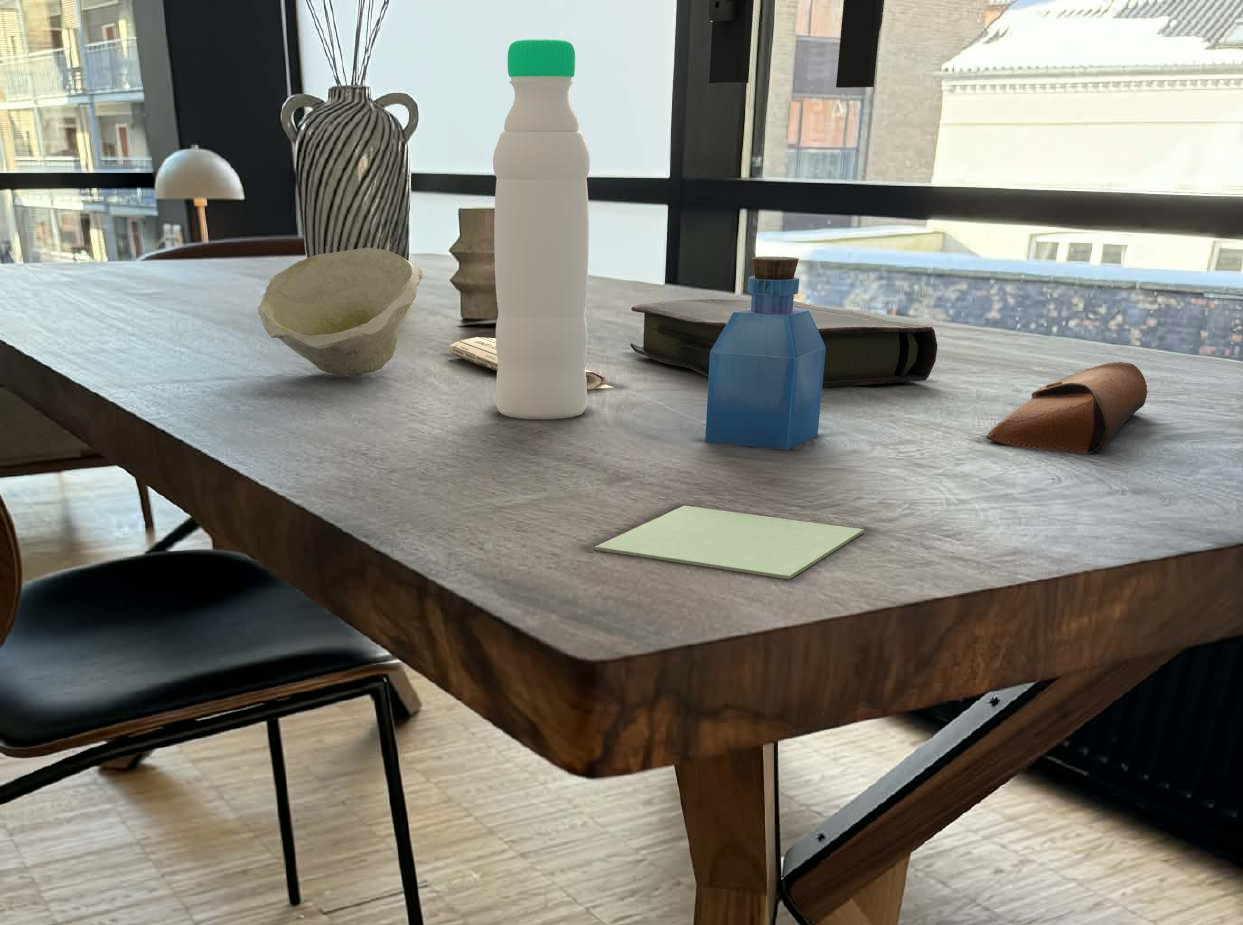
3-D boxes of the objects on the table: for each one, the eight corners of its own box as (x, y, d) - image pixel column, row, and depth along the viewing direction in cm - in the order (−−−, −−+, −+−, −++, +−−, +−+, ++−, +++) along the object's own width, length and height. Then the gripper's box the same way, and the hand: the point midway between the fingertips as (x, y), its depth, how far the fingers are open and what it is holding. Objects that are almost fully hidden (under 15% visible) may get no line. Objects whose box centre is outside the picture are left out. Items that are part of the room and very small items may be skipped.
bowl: (232, 379, 127) (219, 255, 122) (314, 359, 138) (305, 244, 134) (380, 390, 122) (374, 261, 117) (453, 368, 133) (449, 250, 128)
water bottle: (515, 425, 108) (512, 36, 96) (483, 410, 114) (477, 41, 102) (600, 419, 110) (608, 39, 98) (565, 405, 116) (568, 43, 104)
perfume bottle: (787, 453, 99) (802, 263, 93) (704, 444, 102) (715, 259, 96) (817, 438, 104) (834, 257, 98) (738, 430, 107) (750, 253, 101)
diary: (786, 348, 147) (790, 294, 144) (933, 383, 127) (941, 322, 124) (622, 356, 140) (623, 301, 138) (750, 396, 120) (755, 332, 118)
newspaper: (449, 358, 139) (448, 338, 138) (516, 354, 142) (516, 335, 141) (541, 395, 120) (540, 372, 119) (617, 390, 123) (617, 368, 122)
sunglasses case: (1032, 401, 115) (1090, 327, 111) (1102, 455, 115) (1162, 383, 110) (981, 440, 101) (1044, 357, 97) (1059, 501, 101) (1127, 420, 96)
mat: (863, 536, 79) (864, 529, 79) (789, 584, 71) (789, 576, 71) (683, 512, 84) (684, 505, 84) (594, 554, 76) (594, 546, 76)
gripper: (893, -275, 96) (859, 89, 107) (637, -351, 81) (626, 82, 92) (991, -296, 92) (945, 88, 102) (738, -380, 77) (714, 80, 87)
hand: (794, 86), depth 97 cm, fingers open, 13 cm apart
